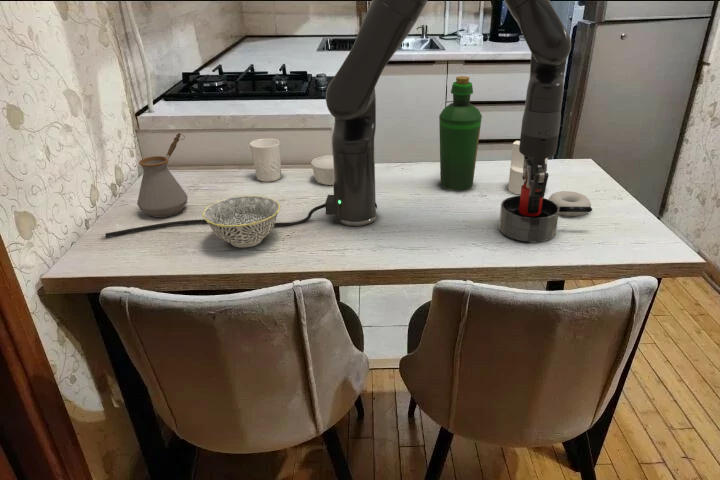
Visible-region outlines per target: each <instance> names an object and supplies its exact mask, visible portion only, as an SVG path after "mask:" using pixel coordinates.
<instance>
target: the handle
mask: <svg viewBox="0 0 720 480" xmlns="http://www.w3.org/2000/svg"><path fill="white" fill-rule="evenodd" d="M592 211H593V208H592V206H591V207H561V206H560V207H559V212H587V213H592Z"/></svg>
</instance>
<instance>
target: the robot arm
mask: <svg viewBox="0 0 720 480" xmlns="http://www.w3.org/2000/svg"><path fill="white" fill-rule="evenodd" d="M428 1H429V0H371V2H370V4H369V7H368V9H367V11H366V13H365V16H364V18H363V20H362V23H361V25H360V28H359V31H358V33H357V35H356V38H355V41H354V43H353V45H352V46H351V49H350V51H349V53H348V54H347V56H346V57H345V59H344V61H343V63H342V64H341V66H340V67H339V68H338V71H337V72H336V73H335V75H334V76H333V78H332V79H331V81H330V82H329V83H328V85H327V87H326V91H325V104H326V107H327V110H328V112H329V113H330V114H331V116H332V117H333V118H334V126H333V130H332V136H331V145H332V146H331V147H332V155H333V163H334V179H335V181H334V184H333V185H332V187H333V194H327V197H326V199H325V202H324V203H323V204H320V205H317V206H315V207H313V208H311V209H310V211H309V212H308V214H307V216H306V217H304V218H303V219H301V220H297V221H292V222H275V224H274V227H290V226H291V227H292V226H297V225H301V224H304V223H307V222H308V221H309V220H310V219H311V218H312V215H313V214H314V213H315V212H317V211H319V210H322V209H325V216H334V218H335V223H336V224H342V225H344V226H349V227H362V226H367V225H370V224H372V223H373V222H375V220H376V219H377V210H378V205H377V203H376V202H377V201H376V166H375V165H376V163H375V161H376V160H375V158H376V157H375V138H376V137H375V136H376V128H377V122H376V121H377V118H376V117H377V100H376V99H377V98H376V97H377V95H376V86H377V83H378V81H379V79H380V77H381V75H382V73H383V72H384V69H385V68H386V66H387V64H388V63H389V62H390V60H391V58H392V57H393V56H394V55H395V54H396V52H397V51H398V50H399V49H400V47H401V45H403V43H404V41H405V40H406V39H407V37H408V36H409V34H410V33H411V31H412V29H414V27H415V25H416V23H417V21H418V20H419V18H420V16H421V14H422V12H423V10H424V8H425V6H426V5H427V3H428ZM503 1H504V3H505V6H506V7H507V10H508V11H509V12H510V14H511V16H512V18H513V19H514V20H515V22H516V23H517V25H518V27H519V29H520V32H521V34H522V37H523V38H524V40H525V43H526V45H527V47H528V48H529V52H530V66H529V67H530V68H529V78H528V79H529V80H528V84H527V88H526V94H525V95H526V96H525V103H524V111H523V114H522V119H521V129H520V138H519V141H520V146H519V151H520V153H521V154H523V155H524V167H523V177H522V178H523V180H524V184H527V185H528V186H529V201H528V209H527V211H528V213H537V212H538V210H539V202H540V198H545V193H546V189H547V186H548V185H547V184H548V180H549V175H550V174H549V172H547V171H548V163H547V164H545V159H546V158H547V159H548V158H551V157H554V156H555V155H556V154H557V150H558V142H559V135H560V129H561V121H562V106H563V98H564V92H565V91H564V89H565V88H564V87H565V85H564V83H565V81H564V76H565V69H566V64H567V58H568V56H569V55H570V53H571V50H572V39H571V36H570V34H569V31H568V29H567V28H566V27H565V25H564V23H563V22H562V21H561V19H560V17H559V15H558V13H557V11H555V9H554V7H553V5H552V3H551V0H503ZM531 180H534V182H532V181H531ZM536 189H539V191H536ZM188 224H208V223H207V222H206V220H205V219H204V218H203V219H186V220H178V221H176V220H175V221H168V222H162V223H155V224H150V225H149V224H148V225H144V226H138V227H132V228H127V229H122V230H117V231H112V232H106V233H105V235H104V236H105V237H106V238H108V237H109V238H110V237H114V236H118V235H119V236H120V235H123V234H128V233H134V232H139V231H145V230H151V229H157V228H158V229H159V228H163V227H170V226H171V227H172V226H178V225H179V226H180V225H188Z"/></svg>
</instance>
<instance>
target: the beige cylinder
mask: <svg viewBox="0 0 720 480" xmlns="http://www.w3.org/2000/svg"><path fill="white" fill-rule="evenodd" d="M249 147H250V152H251V157H252V163H253V167H254V171H255V177H256V179H257V181H259V182H267V183H269V182H270V183H271V182H275V181H278V180H280V179H281V177H282V156H281V143H280V140H278V139H276V138H259V139H254V140H252V141H251V142H250V143H249Z"/></svg>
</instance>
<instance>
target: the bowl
mask: <svg viewBox="0 0 720 480" xmlns="http://www.w3.org/2000/svg"><path fill="white" fill-rule="evenodd" d="M280 210H281V205H280V203H279V202H278V201H277V200H275V199H273V198H272V197H271V198H270V197H267V196H264V195H263V196H262V195H239V196H232V197H227V198H224V199H221V200H218V201H215V202H213V203H211V204H209V205H208V206H207V207H206V208H205V209H204V210H203V211H202V218H203V219H205V220H206V222H207V223H206V224H208V225H209V227H210V229H211V231H212V232H213V233H214V234H215V235H216V236H217V238H218V239H220V240H221V241H224V242H226V243H228V244H230V245H231V246H232V247H235V248H241V249H243V248H245V249H246V248H250V247H254V246H257V245H259V244H260V243H262V241H263V239H264V238H267V236H268V235H269V234H270V233H271V232H272V230H273V229H274V228H275V226H274V224H275V223H276V222H277V217H278V214H279V212H280Z"/></svg>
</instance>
